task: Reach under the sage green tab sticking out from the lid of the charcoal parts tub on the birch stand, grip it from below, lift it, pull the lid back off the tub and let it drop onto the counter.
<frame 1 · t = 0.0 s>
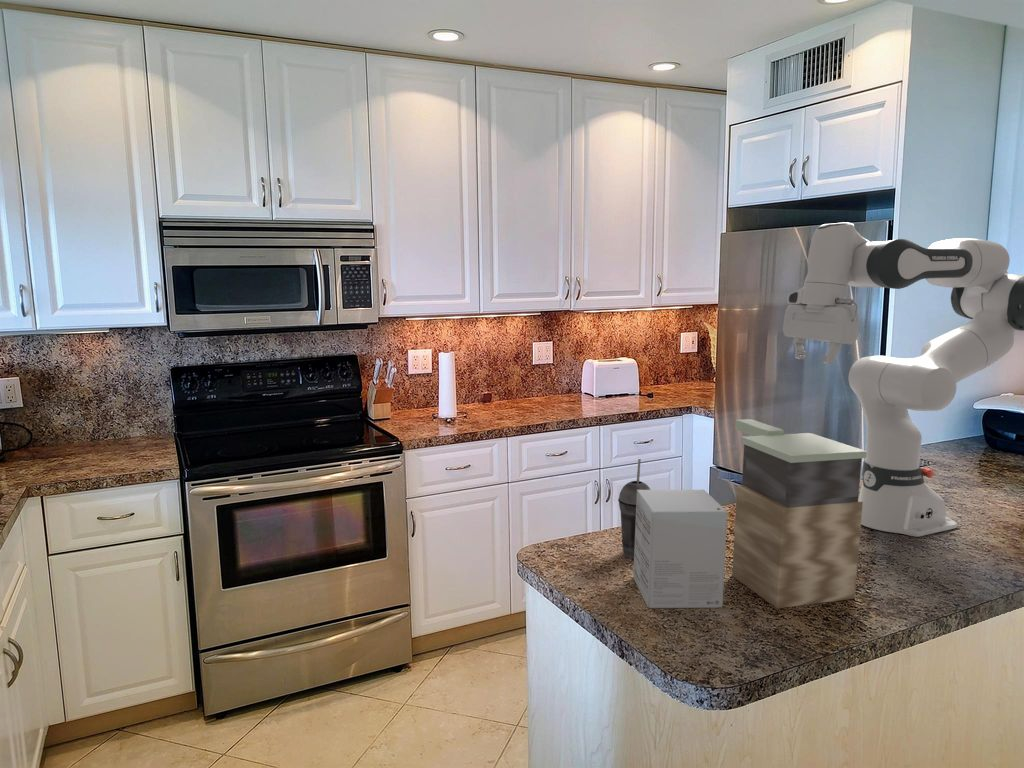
hand: (813, 361, 155), 39 cm above the counter, tool pointing down, fingers open, 8 cm apart
beverage cup: (634, 555, 146), on the counter
tub stand: (791, 586, 131), on the counter
lid: (800, 450, 127), point 26 cm above the counter, touching tub stand
supplement box: (675, 593, 128), on the counter
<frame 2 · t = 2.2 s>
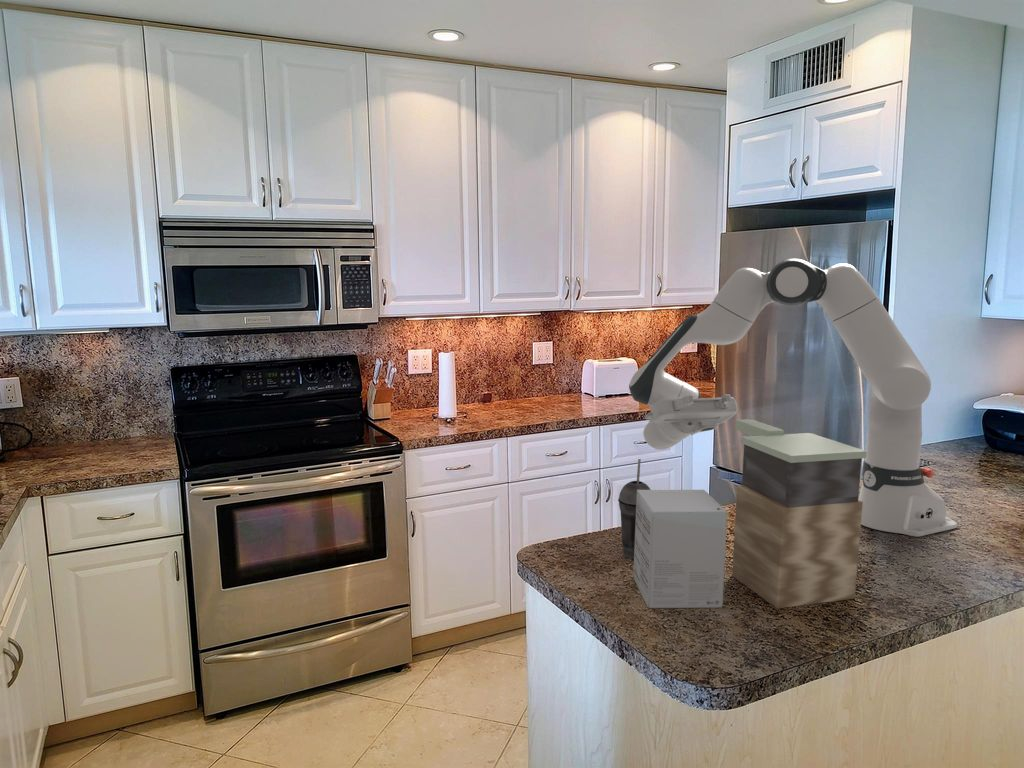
hand: (709, 398, 157), 30 cm above the counter, tool pointing upward, fingers open, 8 cm apart
nothing on the counter moved.
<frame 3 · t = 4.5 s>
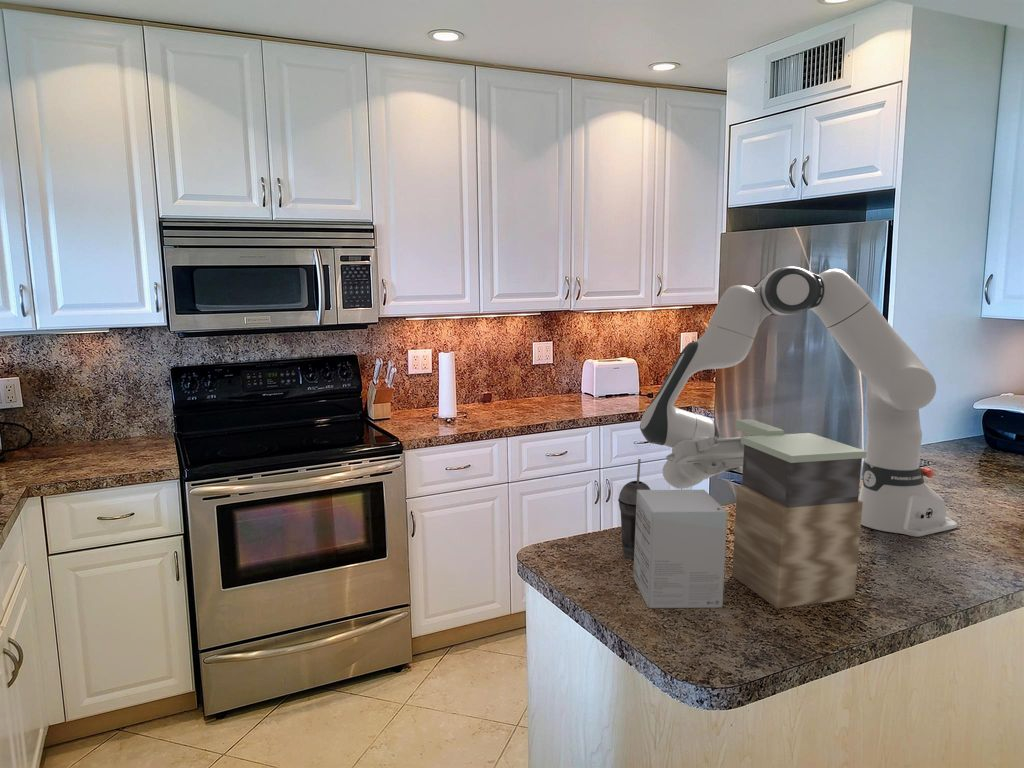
hand: (735, 439, 148), 23 cm above the counter, tool pointing upward, fingers open, 8 cm apart
nothing on the counter moved.
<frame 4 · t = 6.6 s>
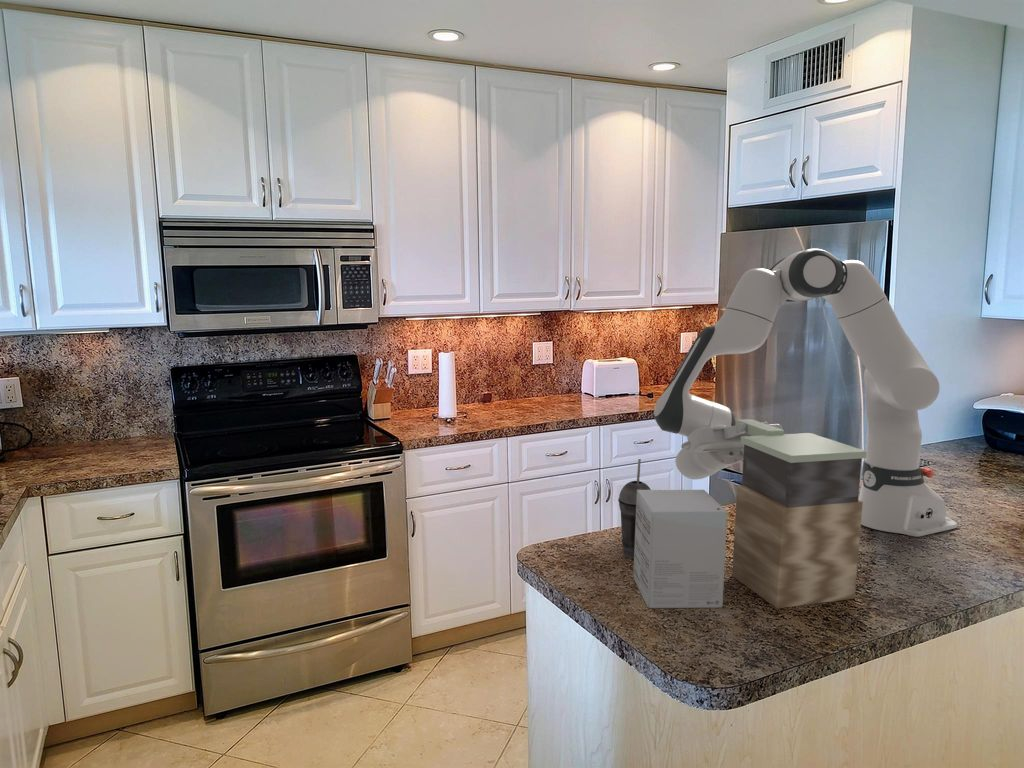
hand: (755, 426, 141), 27 cm above the counter, tool pointing upward, fingers closed on lid, 3 cm apart
lid: (800, 450, 127), point 26 cm above the counter, touching gripper, tub stand
everything else where it was.
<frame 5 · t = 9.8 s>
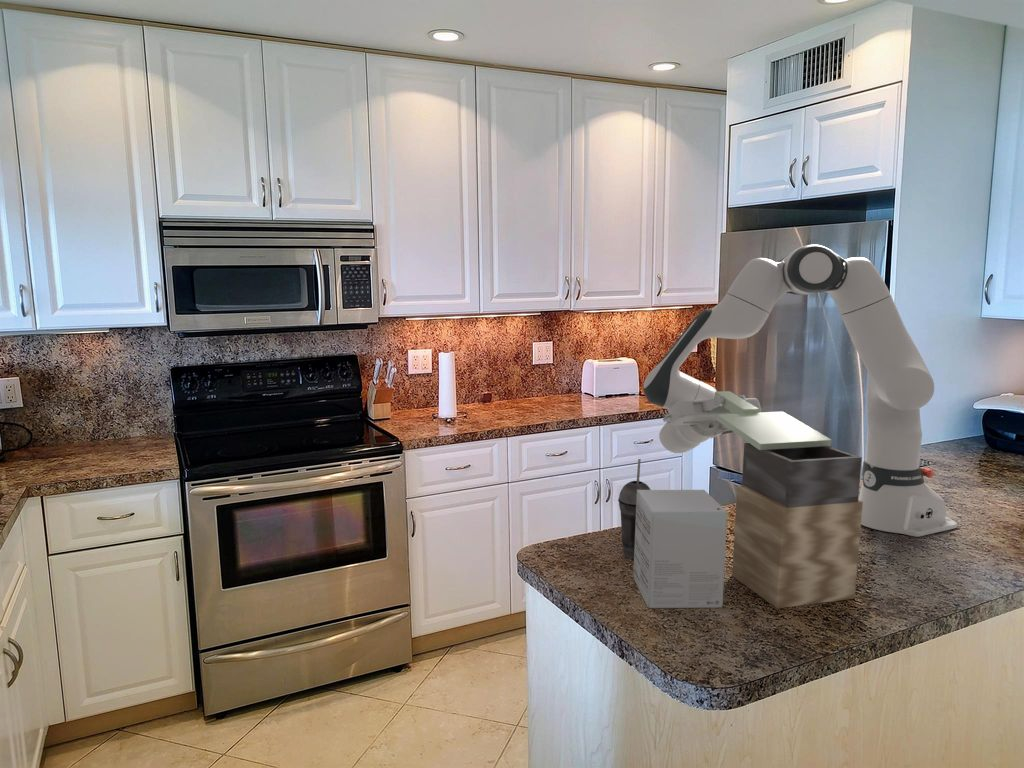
hand: (732, 398, 148), 32 cm above the counter, tool pointing upward, fingers closed on lid, 3 cm apart
lid: (771, 432, 136), point 27 cm above the counter, tilted 10°, touching gripper
everything else where it was.
when the fingers open (24 cm above the counter, at t = 13.2 s): lid drops 6 cm and tips over, point 5 cm above the counter.
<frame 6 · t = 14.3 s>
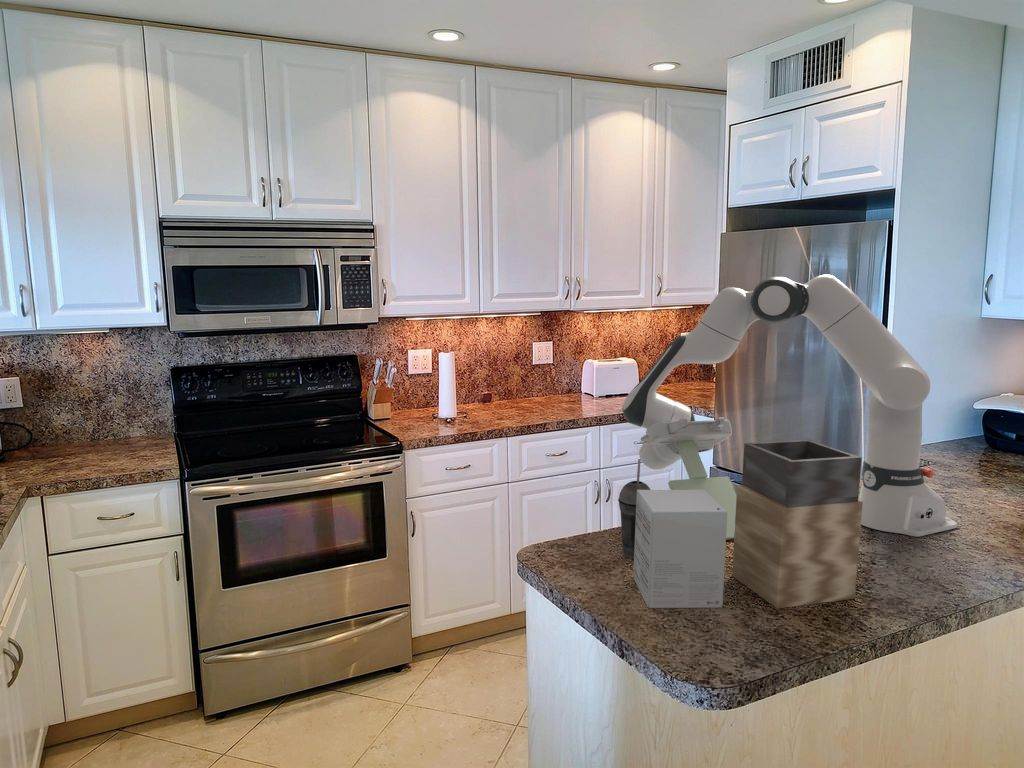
hand: (703, 421, 160), 25 cm above the counter, tool pointing upward, fingers open, 8 cm apart
lid: (708, 509, 159), point 5 cm above the counter, tilted 43°
everything else where it was.
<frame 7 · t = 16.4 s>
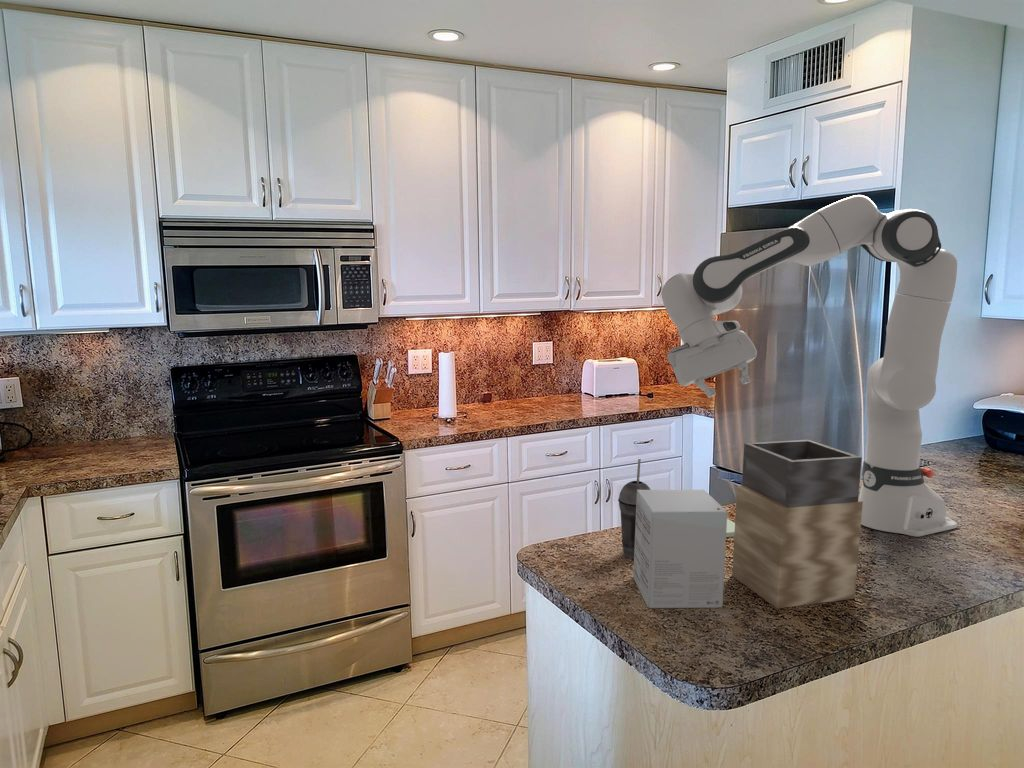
hand: (729, 389, 162), 31 cm above the counter, tool tilted 35°, fingers open, 8 cm apart
lid: (699, 526, 163), on the counter
everything else where it was.
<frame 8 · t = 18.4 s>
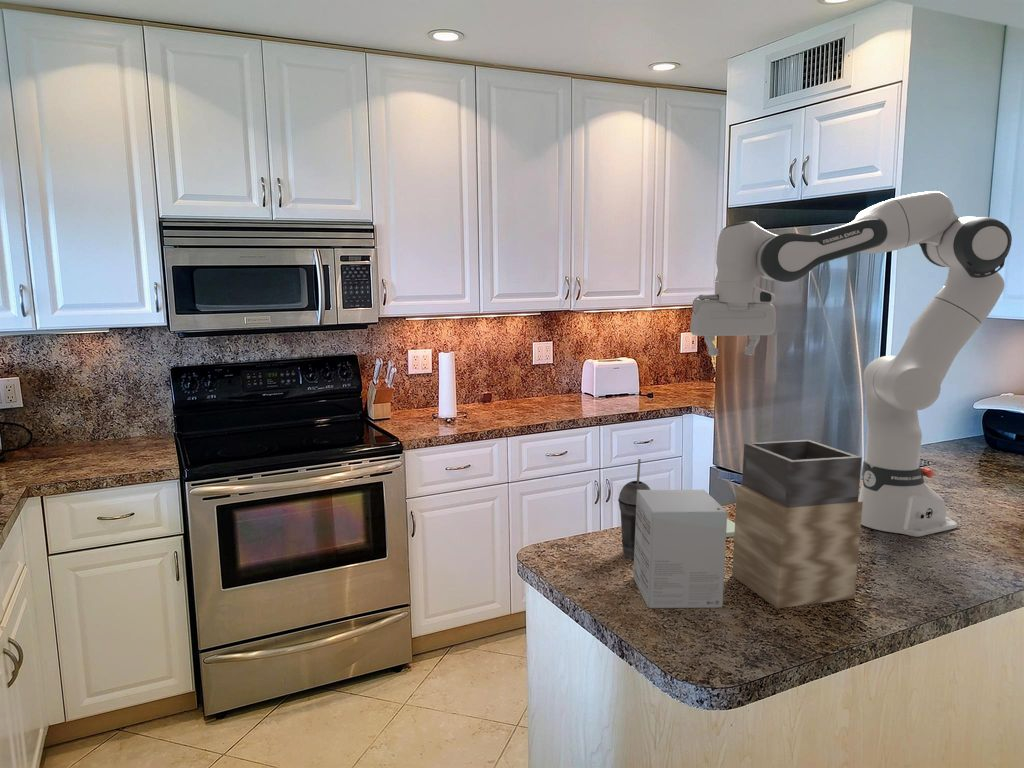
hand: (731, 355, 163), 39 cm above the counter, tool pointing down, fingers open, 8 cm apart
nothing on the counter moved.
at the end: lid touching counter; lid on the counter; the gripper is holding nothing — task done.
